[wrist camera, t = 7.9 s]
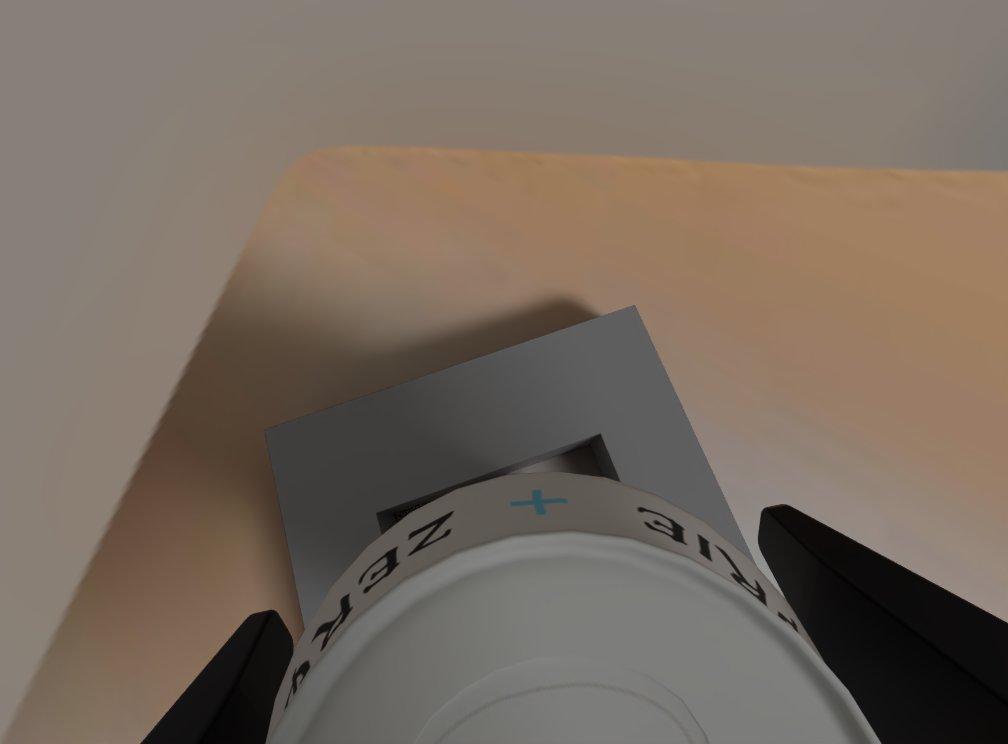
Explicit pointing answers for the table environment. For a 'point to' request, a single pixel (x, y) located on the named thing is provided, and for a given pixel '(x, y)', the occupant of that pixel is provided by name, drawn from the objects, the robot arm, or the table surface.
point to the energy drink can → (558, 631)
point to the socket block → (486, 441)
